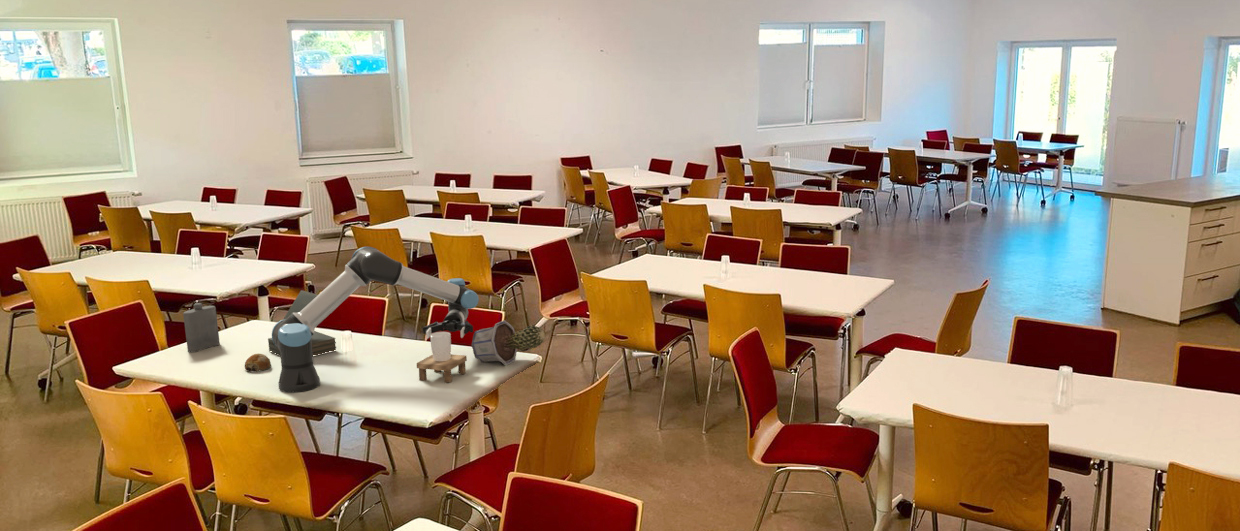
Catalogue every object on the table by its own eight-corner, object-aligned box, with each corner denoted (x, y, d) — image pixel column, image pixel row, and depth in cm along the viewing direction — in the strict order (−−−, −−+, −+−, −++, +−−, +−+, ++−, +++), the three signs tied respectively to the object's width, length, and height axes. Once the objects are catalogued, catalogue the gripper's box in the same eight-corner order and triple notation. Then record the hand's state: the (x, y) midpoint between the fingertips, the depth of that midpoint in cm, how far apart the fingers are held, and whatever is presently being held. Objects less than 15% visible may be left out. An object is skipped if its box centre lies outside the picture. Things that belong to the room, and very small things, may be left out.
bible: (269, 352, 417) (263, 296, 413) (311, 342, 431) (306, 288, 426) (294, 362, 401) (288, 304, 397) (336, 351, 415) (331, 295, 410)
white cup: (456, 358, 375) (454, 333, 373) (442, 363, 369) (440, 338, 367) (441, 355, 380) (439, 330, 378) (427, 360, 373) (425, 335, 371)
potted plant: (462, 331, 386) (527, 318, 374) (484, 322, 402) (547, 309, 391) (473, 373, 387) (538, 361, 375) (494, 362, 403) (557, 351, 392)
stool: (417, 380, 372) (416, 363, 370) (436, 369, 384) (435, 353, 383) (449, 383, 367) (448, 366, 365) (467, 372, 380) (466, 355, 378)
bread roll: (272, 377, 393) (278, 358, 394) (249, 372, 386) (255, 353, 387) (260, 372, 400) (266, 354, 401) (238, 368, 392) (244, 349, 393)
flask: (213, 342, 434) (208, 299, 430) (222, 344, 431) (217, 300, 427) (184, 351, 422) (178, 306, 418) (192, 352, 419) (187, 308, 415)
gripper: (484, 328, 401) (476, 343, 380) (424, 330, 401) (413, 344, 380) (483, 311, 399) (475, 324, 378) (423, 313, 399) (412, 326, 379)
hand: (444, 334), depth 379 cm, fingers open, 13 cm apart
